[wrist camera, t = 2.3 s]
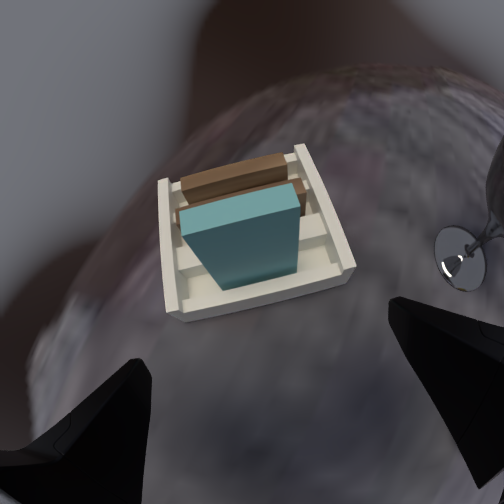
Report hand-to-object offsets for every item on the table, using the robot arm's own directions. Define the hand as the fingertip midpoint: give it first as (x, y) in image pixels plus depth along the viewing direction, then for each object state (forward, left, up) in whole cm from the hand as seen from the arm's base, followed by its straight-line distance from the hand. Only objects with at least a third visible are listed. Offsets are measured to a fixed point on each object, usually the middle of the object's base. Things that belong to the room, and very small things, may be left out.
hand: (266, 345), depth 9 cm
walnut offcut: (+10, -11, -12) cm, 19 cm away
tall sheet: (+4, -5, -12) cm, 14 cm away
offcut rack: (+7, -8, -13) cm, 17 cm away
